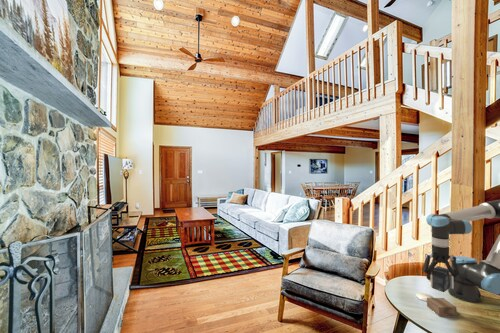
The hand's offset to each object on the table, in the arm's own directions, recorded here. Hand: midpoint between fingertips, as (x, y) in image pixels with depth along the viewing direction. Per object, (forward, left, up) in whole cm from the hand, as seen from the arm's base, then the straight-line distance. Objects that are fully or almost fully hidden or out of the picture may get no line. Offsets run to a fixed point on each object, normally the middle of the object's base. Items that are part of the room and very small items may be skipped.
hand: (440, 286), depth 131 cm
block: (0, 0, -14) cm, 14 cm away
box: (0, 0, -1) cm, 1 cm away
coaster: (+2, -13, -14) cm, 19 cm away
